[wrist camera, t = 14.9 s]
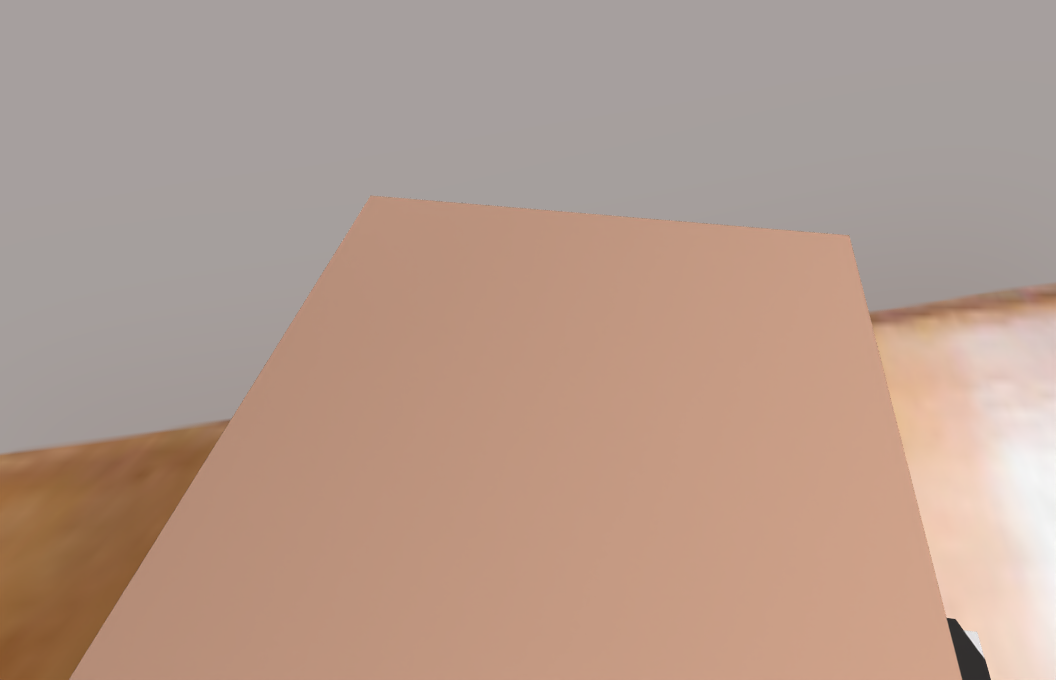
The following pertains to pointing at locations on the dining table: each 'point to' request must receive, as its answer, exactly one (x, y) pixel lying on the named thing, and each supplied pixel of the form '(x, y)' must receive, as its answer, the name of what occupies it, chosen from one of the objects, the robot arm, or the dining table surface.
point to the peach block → (551, 470)
